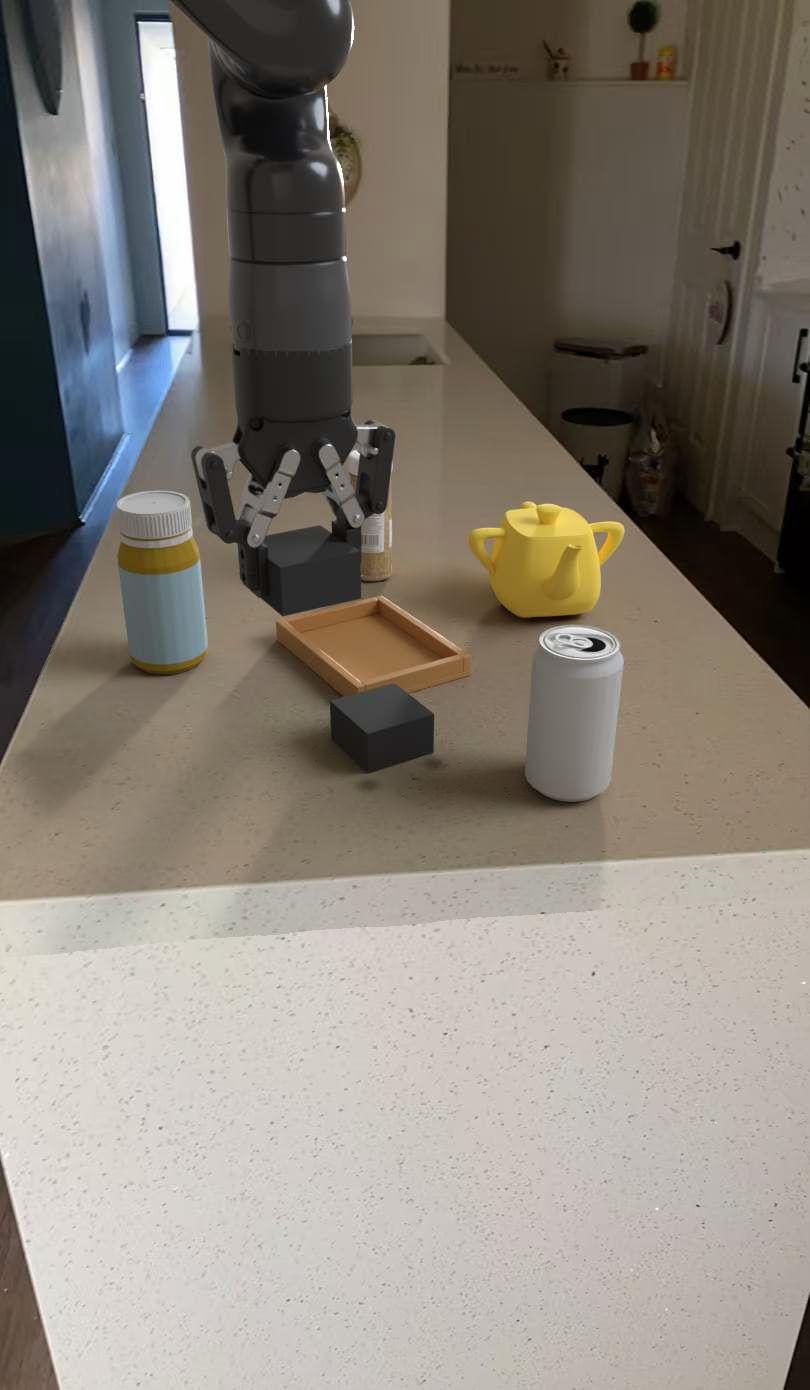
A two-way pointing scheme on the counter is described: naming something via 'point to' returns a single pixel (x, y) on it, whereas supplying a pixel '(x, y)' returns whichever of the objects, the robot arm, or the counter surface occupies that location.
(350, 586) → the pad
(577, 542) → the teapot
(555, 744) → the beverage can
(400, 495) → the counter surface
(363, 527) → the sprinkles bottle
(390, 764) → the pad
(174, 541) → the bottle
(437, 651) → the tray
